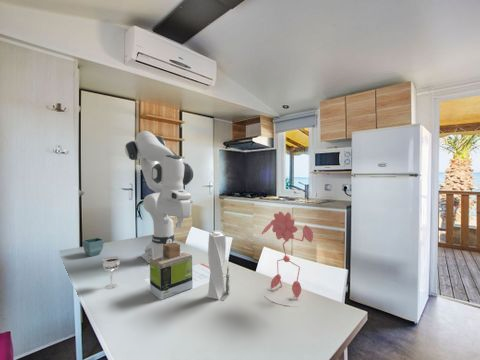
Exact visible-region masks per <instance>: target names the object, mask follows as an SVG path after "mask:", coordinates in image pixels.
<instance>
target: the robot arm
mask: <svg viewBox="0 0 480 360" xmlns="http://www.w3.org/2000/svg"><path fill="white" fill-rule="evenodd" d="M135 139H136V140H131V141H129V142H127V143H126V144H125V147H124V151H125V154H126V156H127V157H128V159H129V160H131V161H136V160H137V161H138V160H140V168H141V172H142V174H143V177H144V180H145V183H146V186H147V187H148V188H149V189H150V190H152V191H153V193H150V194H148V195H146V196H145V197H143V198H144V199H143V200H142V201H143V202H142V205H143V208H144V210H145V211H146V212H147V213H148V214H149V216H151V220H152V224H153V235H151V241H150V242H149V243H148V244H147V245H146V247H145V249H144V253H142V254H141V255H140V257H141V258H143V259H144V261H145V262H146V263H148V264H150V258H153V257H157V256H161V255H163V244H168V243H172V242H174V243H176V241H175V234H174V227H175V228H178V229H180V228H182V223H183V222H184V219H188V218H190V215H191V200H190V199H191V197H192V195H191V193H190V192H189V191H187V190H186V189H185V188H184V186H187V185H188V184H190V182H192V180H193V178H194V170H193V168H192V167H191V166H190V165H189V164H188V163H187V162H185V161H184V159H183V157H182V156H180V155H177V154H176V153H175V152H174V151H173V150H172V149H170V148H168V147H167V145H166V142H165V140H164V138H163V137H162V136H160V135H154V133H152V132H151V131H148V130H142V131H140V132H138V133H137V135H136V138H135ZM169 216H172V217H175V218H177V219H176V220H177V222H174V220H173V219H172V218H171V217H169ZM174 223H175V224H174ZM174 225H175V226H174Z"/></svg>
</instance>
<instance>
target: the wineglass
mask: <svg viewBox="0 0 480 360" xmlns="http://www.w3.org/2000/svg"><path fill="white" fill-rule="evenodd" d="M120 258H121V257H119V256H109V257H108V256H107V257H106V258H103V259H102V261H103V263H102V268H103V269H104V270H105V272H109V274H110V283H109V284H107V285H105V286H104V288H105V289H107V290H111V289H112V290H113V289H115V288H118V285H119V284H117V283H113V273H114V271H116V270H117V269H118V268H119V267H120V265H121V261H120Z"/></svg>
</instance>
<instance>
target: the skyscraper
mask: <svg viewBox="0 0 480 360" xmlns="http://www.w3.org/2000/svg"><path fill="white" fill-rule="evenodd" d="M208 233H209V234H208V242H207V243H208V249H207V256H208V258H207V259H208V267H209V271H210V272H209V281H208V291H207V292H208V293H207V299H213V300H218V301H220V302H221V301H222V302H224V301H225V300H226V299H227V297H228V296H230V294H231V292H230V288H231V285H230V273H229V272H230V268H229V267H227V268H226V274H225V277H224V270H223V268H224V263H225V261H226V251H227V248H226V247H227V243H226V242H227V240H226V233H224V231H222V230H212V231H210V232H208ZM224 278H226V280H225V279H224Z"/></svg>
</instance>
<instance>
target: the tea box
mask: <svg viewBox="0 0 480 360" xmlns="http://www.w3.org/2000/svg"><path fill="white" fill-rule="evenodd" d="M192 288H193V255H192V254H189V253H187V252H185V251H182V250H180V256H178V257H175V258H172V259H168V258H166V257H164V256H163V255H161V256H157V257H153V258H150V263H149V289H150V290H149V291H150V292H151V293H152V294H153V295H154V296H155V297H157V298H158V299H159V300H161V301H162V300H164V299H167V298H169V297H171V296H174V295H177V294H180V293H182V292H185V291H188V290H190V289H192Z"/></svg>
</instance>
